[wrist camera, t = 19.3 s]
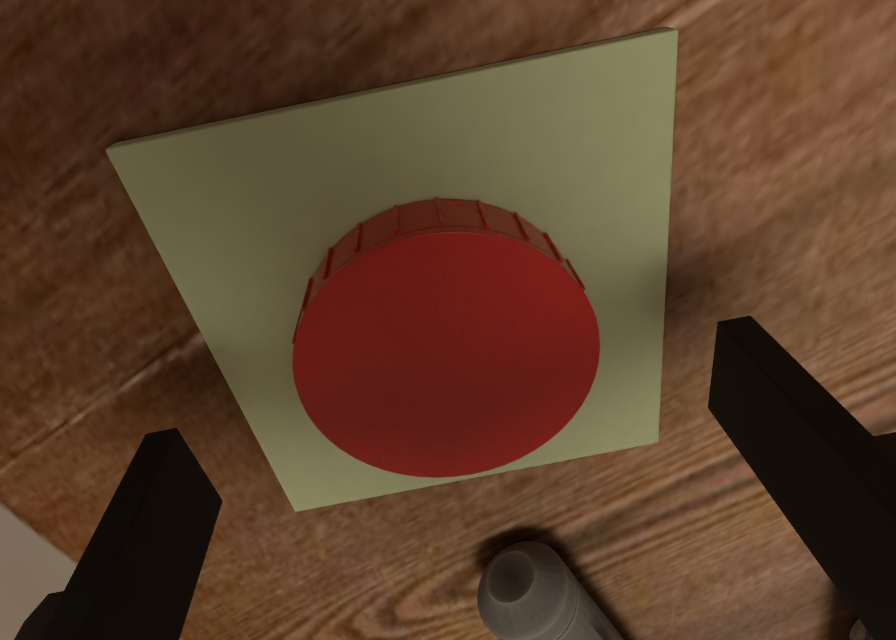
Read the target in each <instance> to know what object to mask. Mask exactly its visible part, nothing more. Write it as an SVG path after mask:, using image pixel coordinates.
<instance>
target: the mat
mask: <svg viewBox="0 0 896 640" xmlns="http://www.w3.org/2000/svg"><path fill="white" fill-rule="evenodd" d="M677 47H678V30H677V29H673V28H669V27H665V28H660V29H656V30H651V31H646V32H641V33H637V34H632V35H627V36H622V37H618V38H613V39H608V40H603V41H598V42H594V43H589V44H584V45H579V46H575V47H570V48H565V49H560V50H555V51H551V52H546V53H541V54H536V55H532V56H527V57H522V58H517V59H513V60H508V61H503V62H498V63H493V64H489V65H484V66H479V67H474V68H470V69H465V70H460V71H455V72H451V73H446V74H441V75H436V76H431V77H427V78H422V79H417V80H412V81H408V82H403V83H398V84H393V85H389V86H384V87H379V88H374V89H369V90H365V91H360V92H355V93H350V94H346V95H341V96H336V97H331V98H327V99H322V100H317V101H312V102H307V103H303V104H298V105H293V106H288V107H284V108H279V109H274V110H269V111H265V112H260V113H255V114H250V115H245V116H241V117H236V118H231V119H226V120H222V121H217V122H212V123H207V124H203V125H198V126H193V127H188V128H183V129H179V130H174V131H169V132H164V133H160V134H155V135H150V136H145V137H140V138H136V139H131V140H126V141H121V142H117V143H114V144H113V145H111V146H110V147H108V148H107V149H106V153H107V155H108V157H109V159H110V160H111V162H112V164H113V166H114V168H115V170H116V172H117V174H118V176H119V178H120V180H121V181H122V183H123V185H124V187H125V189H126V191H127V193H128V195H129V197H130V199H131V200H132V202H133V204H134V206H135V208H136V210H137V212H138V214H139V216H140V218H141V220H142V221H143V223H144V225H145V227H146V229H147V231H148V233H149V235H150V237H151V239H152V240H153V242H154V244H155V246H156V248H157V250H158V252H159V254H160V256H161V258H162V260H163V261H164V263H165V265H166V267H167V269H168V271H169V273H170V275H171V277H172V279H173V280H174V282H175V284H176V286H177V288H178V290H179V292H180V294H181V296H182V298H183V300H184V301H185V303H186V305H187V307H188V309H189V311H190V313H191V315H192V317H193V319H194V320H195V322H196V324H197V326H198V328H199V330H200V332H201V334H202V336H203V338H204V340H205V341H206V343H207V345H208V347H209V349H210V351H211V353H212V355H213V357H214V359H215V360H216V362H217V364H218V366H219V368H220V370H221V372H222V374H223V376H224V378H225V379H226V381H227V383H228V385H229V387H230V389H231V391H232V393H233V395H234V397H235V399H236V400H237V402H238V404H239V406H240V408H241V410H242V412H243V414H244V416H245V418H246V419H247V421H248V423H249V425H250V427H251V429H252V431H253V433H254V435H255V437H256V439H257V440H258V442H259V444H260V446H261V448H262V450H263V452H264V454H265V456H266V458H267V459H268V461H269V463H270V465H271V467H272V469H273V471H274V473H275V475H276V477H277V479H278V480H279V482H280V484H281V486H282V488H283V490H284V492H285V494H286V496H287V498H288V499H289V501H290V503H291V505H292V507H293V509H294V511H295V512H298V511H303V510H308V509H313V508H319V507H324V506H329V505H334V504H340V503H345V502H350V501H355V500H360V499H366V498H371V497H376V496H381V495H387V494H392V493H397V492H402V491H408V490H413V489H418V488H423V487H429V486H434V485H439V484H444V483H450V482H455V481H460V480H465V479H470V478H476V477H481V476H486V475H491V474H497V473H502V472H507V471H512V470H518V469H523V468H528V467H533V466H539V465H544V464H549V463H554V462H560V461H565V460H570V459H575V458H580V457H586V456H591V455H596V454H601V453H607V452H612V451H617V450H622V449H628V448H633V447H638V446H643V445H649V444H654V443H658V436H659V415H660V395H661V374H662V354H663V333H664V313H665V292H666V272H667V251H668V231H669V210H670V190H671V170H672V149H673V129H674V108H675V88H676V67H677ZM435 197H439V198H440V199H462V200H470V201H477V200H481V202H482V203H486V204H489V205H493V206H497V207H500V208H502V209H504V210H507V211H509V212H512V213H515V212H517V213H519V215H520V217H521V218H523V219H525V220H526V221H528V222H530V223H531V224H533V225H534V226H535V227H536V228H538V229H539V230H540V231H541V232H543V233H544V234H545V233H548V234H549V236H550V238H551V239H552V241H553V243H554V245H555V246H556V247H557V248H558V250H559V251H560V253H561V254H562V256H563V257H564V259H565V260H567V259H568V260H569V261H570V263H571V265H572V266H573V268H574V270H575V271H576V273H577V275H578V276H579V278H580V280H581V281H582V283H583V285H584V286H585V288H586V290H584V293H585V294H586V296H587V298H588V300H589V302H590V304H591V306H592V309H593V311H594V313H595V316H596V318H597V324H598V328H599V337H600V355H599V363H598V368H597V372H596V377H595V379H594V382H593V384H592V387H591V390H590V392H589V394H588V395H587V397H586V399H585V401H584V403H583V404H582V406H581V407H580V409H579V410H578V411H577V413H576V414H575V415H574V417H573V418H572V419H571V420H570V421H569V422H568V424H567V425H566V426H565V427H564V428H563V429H562V430H561V431H560V432H559V433H557V434H556V435H555V436H554V437H553V438H552V439H550V440H549V441H548V442H546V443H545V444H543V445H542V446H541V447H539V448H538V449H536V450H535V451H533V452H531V453H529V454H527V455H526V456H524V457H522V458H520V459H518V460H516V461H513V462H511V463H509V464H506V465H504V466H501V467H498V468H495V469H492V470H489V471H484V472H480V473H476V474H471V475H464V476H457V477H442V478H431V477H416V476H408V475H402V474H397V473H393V472H389V471H385V470H382V469H379V468H376V467H373V466H371V465H368V464H366V463H364V462H362V461H360V460H358V459H355V458H354V457H352V456H350V455H349V454H347V453H346V452H344V451H342V450H341V449H339V448H338V447H337V446H336V445H334V444H333V443H332V442H331V441H329V440H328V439H327V438H326V437H325V436H324V435H323V434H322V433H321V432H320V431H319V430H318V428H317V427H316V426H315V425H314V423H313V422H312V420H311V419H310V418H309V416H308V415H307V413H306V411H305V409H304V407H303V405H302V403H301V401H300V399H299V396H298V393H297V390H296V387H295V382H294V375H293V348H294V345H293V344H292V340H293V336H294V332H295V329H296V325H297V321H298V317H299V313H300V310H301V307H302V303H303V299H304V295H305V291H306V288H307V284H308V280H309V278H310V277H311V278H313V276H314V274H315V272H316V270H317V269H318V267H319V265H320V263H321V262H322V260H323V259H324V258H325V256H326V255H327V250H328V249H329V247H331V248H333V247H334V246H335V245H336V244H337V243H338V242H339V241H340V240H341V239H342V238H343V237H344V236H345V235H346V234H347V233H349V232H350V231H351V230H353V229H354V228H356V226H357V223H359V222H360V223H363V222H365V221H366V220H368V219H370V218H372V217H374V216H375V215H377V214H380V213H382V212H385V211H387V210H390V209H392V208H394V206H395V205H398V206H401V205H405V204H409V203H413V202H417V201H425V200H433V199H435Z"/></svg>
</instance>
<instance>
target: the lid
mask: <svg viewBox="0 0 896 640" xmlns="http://www.w3.org/2000/svg"><path fill="white" fill-rule="evenodd" d="M584 290H586V288H585V286H584V285H583V283H582V281H581V280H580V278H579V276H578V275H577V273H576V271H575V270H574V268H573V266H572V265H571V263H570V261H569V260H568V259H567V260H565V259H564V257H563V256H562V254H561V253H560V251H559V250H558V248H557V247H556V246H555V245H554V243H553V241H552V239H551V238H550V236H549V234H548V233H545V234H544V233H543V232H541V231H540V230H539V229H538V228H536V227H535V226H534V225H533V224H531V223H530V222H528V221H526V220H525V219H523V218H521V217H520V215H519V213H517V212H515V213H512V212H509V211H507V210H504V209H502V208H500V207H497V206H493V205H489V204H486V203H482V202H481V200H477V201H470V200H462V199H440V198H439V197H435V199H433V200H425V201H417V202H413V203H409V204H405V205H401V206H398V205H395V206H394V208H392V209H390V210H387V211H385V212H382V213H380V214H377V215H375V216H374V217H372V218H370V219H368V220H366V221H365V222H363V223H360V222H359V223H357V226H356V228H354V229H353V230H351V231H350V232H349V233H347V234H346V235H345V236H344V237H343V238H342V239H341V240H340V241H339V242H338V243H337V244H336V245H335V246H334V247H333V248H331V247H329V249H328V250H327V255H326V256H325V258H324V259H323V260H322V262H321V263H320V265H319V267H318V269H317V270H316V272H315V274H314V276H313V278H311V277H310V278H309V280H308V284H307V288H306V291H305V295H304V299H303V303H302V307H301V310H300V313H299V317H298V321H297V325H296V329H295V332H294V336H293V340H292V344H293V345H294V348H293V375H294V382H295V387H296V390H297V393H298V396H299V399H300V401H301V403H302V405H303V407H304V409H305V411H306V413H307V415H308V416H309V418H310V419H311V420H312V422H313V423H314V425H315V426H316V427H317V428H318V430H319V431H320V432H321V433H322V434H323V435H324V436H325V437H326V438H327V439H328V440H329V441H331V442H332V443H333V444H334V445H336V446H337V447H338V448H339V449H341V450H342V451H344V452H346V453H347V454H349V455H350V456H352V457H354V458H355V459H358V460H360V461H362V462H364V463H366V464H368V465H371V466H373V467H376V468H379V469H382V470H385V471H389V472H393V473H397V474H402V475H408V476H416V477H431V478H442V477H457V476H464V475H471V474H476V473H480V472H484V471H489V470H492V469H495V468H498V467H501V466H504V465H506V464H509V463H511V462H513V461H516V460H518V459H520V458H522V457H524V456H526V455H527V454H529V453H531V452H533V451H535V450H536V449H538V448H539V447H541V446H542V445H543V444H545V443H546V442H548V441H549V440H550V439H552V438H553V437H554V436H555V435H556V434H557V433H559V432H560V431H561V430H562V429H563V428H564V427H565V426H566V425H567V424H568V422H569V421H570V420H571V419H572V418H573V417H574V415H575V414H576V413H577V411H578V410H579V409H580V407H581V406H582V404H583V403H584V401H585V399H586V397H587V395H588V394H589V392H590V390H591V387H592V384H593V382H594V379H595V377H596V372H597V368H598V363H599V355H600V337H599V328H598V324H597V318H596V316H595V313H594V311H593V309H592V306H591V304H590V302H589V300H588V298H587V296H586V294H585V293H584Z"/></svg>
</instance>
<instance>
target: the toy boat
mask: <svg viewBox="0 0 896 640" xmlns="http://www.w3.org/2000/svg"><path fill="white" fill-rule="evenodd" d="M849 638H850V640H873V638H872V637H871V635H870V634H869V633H868V631H867V630H866V628H865V627H864V626H863V624H862V623H861V621H860V620H859V619H858V620H857V621H856V622H855V624H854V625H853V627H852V628H851V631H850V634H849Z"/></svg>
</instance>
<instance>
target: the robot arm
mask: <svg viewBox="0 0 896 640" xmlns="http://www.w3.org/2000/svg"><path fill="white" fill-rule="evenodd" d="M708 408H709V410H710V411H711V413H712V414H713V415H714V417H715V418H716V420H717V421H718V422H719V424H720V425H721V427H722V428H723V429H724V431H725V432H726V434H727V435H728V436H729V438H730V439H731V441H732V442H733V443H734V445H735V446H736V448H737V449H738V450H739V452H740V453H741V455H742V456H743V457H744V459H745V460H746V462H747V463H748V464H749V466H750V467H751V469H752V470H753V472H754V473H755V474H756V476H757V477H758V479H759V480H760V481H761V483H762V484H763V486H764V487H765V488H766V490H767V491H768V493H769V494H770V495H771V497H772V498H773V500H774V501H775V502H776V504H777V505H778V507H779V508H780V509H781V511H782V512H783V514H784V515H785V516H786V518H787V519H788V521H789V522H790V523H791V525H792V526H793V528H794V529H795V530H796V532H797V533H798V535H799V536H800V537H801V539H802V540H803V542H804V543H805V544H806V546H807V547H808V549H809V550H810V551H811V553H812V554H813V556H814V557H815V558H816V560H817V561H818V563H819V564H820V565H821V567H822V568H823V570H824V571H825V572H826V574H827V575H828V577H829V578H830V579H831V581H832V582H833V584H834V585H835V586H836V588H837V589H838V591H839V592H840V593H841V595H842V596H843V598H844V599H845V600H846V602H847V603H848V605H849V606H850V607H851V609H852V610H853V612H854V613H855V614H856V616H857V617H858V619H859V620H860V621H861V623H862V624H863V626H864V627H865V628H866V630H867V631H868V633H869V634H870V635H871V637H872V638H873V640H896V432H894V433H889V434H883V435H878V436H872V435H871V434H870V433H869V432H868V431H867V430H866V429H865V428H864V427H863V426H862V425H861V424H860V423H859V422H858V421H857V420H856V419H855V418H854V417H853V416H852V415H851V414H850V413H849V412H848V411H847V410H846V409H845V408H844V407H843V406H842V405H841V404H840V403H839V402H838V401H837V400H836V399H835V398H834V397H833V396H832V395H831V394H830V393H829V392H828V391H827V390H826V389H825V388H824V387H822V386H821V385H820V384H819V383H818V382H817V381H816V380H815V379H814V378H813V377H812V376H811V375H810V374H809V373H808V372H807V371H806V370H805V369H804V368H803V367H802V366H801V365H800V364H799V363H798V362H797V361H796V360H795V359H794V358H793V357H792V356H791V355H790V354H789V353H788V352H787V351H786V350H785V349H784V348H783V347H782V346H781V345H780V344H779V343H778V342H777V341H776V340H775V339H774V338H773V337H772V336H770V335H769V334H768V333H767V332H766V331H765V330H764V329H763V328H762V327H761V326H760V325H759V324H758V323H757V322H756V321H755V320H754V319H753V318H752V317H751V316H746V317H741V318H736V319H730V320H725V321H720V322H718V325H717V333H716V342H715V351H714V359H713V368H712V377H711V385H710V394H709V403H708ZM221 504H222V499H221V498H220V496H219V494H218V493H217V491H216V490H215V488H214V487H213V485H212V483H211V482H210V480H209V479H208V477H207V475H206V474H205V472H204V471H203V469H202V468H201V466H200V464H199V463H198V461H197V460H196V458H195V456H194V455H193V453H192V452H191V450H190V448H189V447H188V445H187V444H186V442H185V441H184V439H183V437H182V436H181V434H180V433H179V431H178V429H177V428H174V429H169V430H164V431H159V432H153V433H148V434H146V435H145V436H144V438H143V440H142V442H141V444H140V446H139V448H138V450H137V452H136V454H135V456H134V458H133V459H132V461H131V463H130V465H129V467H128V469H127V471H126V473H125V475H124V477H123V479H122V481H121V483H120V484H119V486H118V488H117V490H116V492H115V494H114V496H113V498H112V500H111V502H110V504H109V506H108V507H107V509H106V511H105V513H104V515H103V517H102V519H101V521H100V523H99V525H98V527H97V529H96V531H95V532H94V534H93V536H92V538H91V540H90V542H89V544H88V546H87V548H86V550H85V552H84V554H83V555H82V557H81V559H80V561H79V563H78V565H77V567H76V569H75V571H74V573H73V575H72V577H71V578H70V581H69V582H68V584H67V586H66V588H65V590H64V591H62V592H56V593H51V594H48V595H47V596H46V597H45V599H44V600H43V601H42V602H41V603H40V604H39V606H38V607H37V608H36V609H35V610H34V611H33V612H32V613H31V615H30V616H29V617H28V618H27V619H26V620H25V621H24V623H23V625H22V627H21V629H20V630H19V632H18V634H17V636H16V637H15V639H14V640H179V638H180V635H181V632H182V628H183V625H184V622H185V619H186V616H187V613H188V609H189V606H190V603H191V600H192V597H193V593H194V590H195V587H196V584H197V581H198V577H199V574H200V571H201V568H202V565H203V562H204V558H205V555H206V552H207V549H208V546H209V542H210V539H211V536H212V533H213V530H214V526H215V523H216V520H217V517H218V514H219V510H220V507H221Z"/></svg>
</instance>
